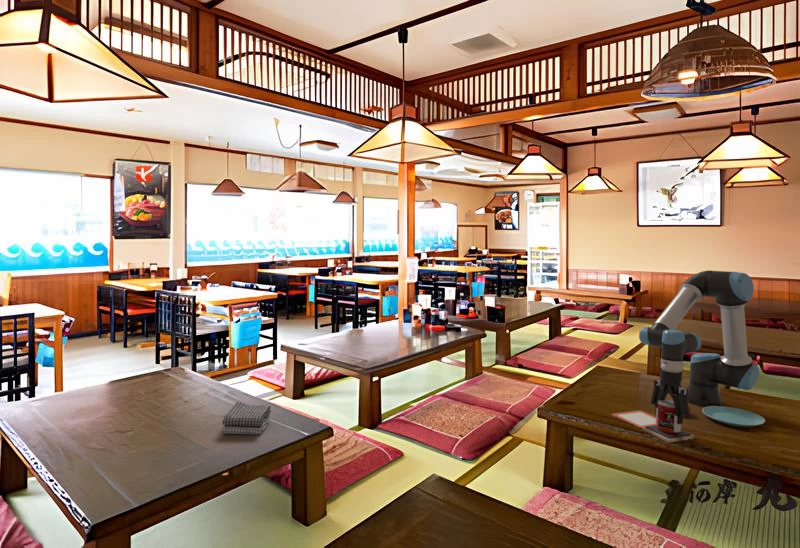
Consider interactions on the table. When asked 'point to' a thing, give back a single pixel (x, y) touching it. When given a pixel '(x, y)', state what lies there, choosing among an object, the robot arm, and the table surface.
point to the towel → (246, 419)
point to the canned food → (666, 416)
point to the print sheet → (637, 418)
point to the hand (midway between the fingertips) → (667, 427)
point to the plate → (733, 416)
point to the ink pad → (666, 436)
